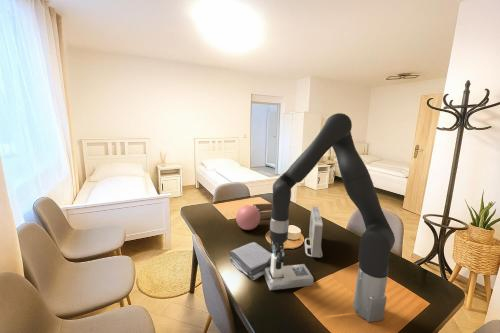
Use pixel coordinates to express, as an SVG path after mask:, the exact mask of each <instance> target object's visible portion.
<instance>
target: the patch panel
mask: <svg viewBox="0 0 500 333" xmlns="http://www.w3.org/2000/svg"><path fill="white" fill-rule="evenodd" d="M270 270H271V267H269V268H264V275H263V276H264V279H265V282H266V284H267V286H268V290H269V291H276V290H285V289H286V290H287V289H293V288H300V287H308V286H309V287H310V286H314V276H313V275H312V273H311V272H310V270H309V269H308V267H307V266H306V265H305V263H302V264H301V263H300V264H299V263H298V264H291V265H290V264H288V265H283V272H282V277H280V278H273V277H272V275H271V272H270Z"/></svg>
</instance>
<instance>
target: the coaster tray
mask: <svg viewBox="0 0 500 333" xmlns="http://www.w3.org/2000/svg"><path fill="white" fill-rule="evenodd" d="M272 205H273V202H272V203H271V202H270V203H253V204H252V206H253V207H255V208H257V209H260V210H259V214H260V220H266V219H271V211H272Z"/></svg>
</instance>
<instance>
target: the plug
mask: <svg viewBox="0 0 500 333" xmlns="http://www.w3.org/2000/svg"><path fill="white" fill-rule="evenodd" d="M270 253H271V270H270V272H271V275H272V277H273V278H280V277H282V272H283V266H284V263H282V264H281V269H276V255H275V253H272V252H270Z"/></svg>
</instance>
